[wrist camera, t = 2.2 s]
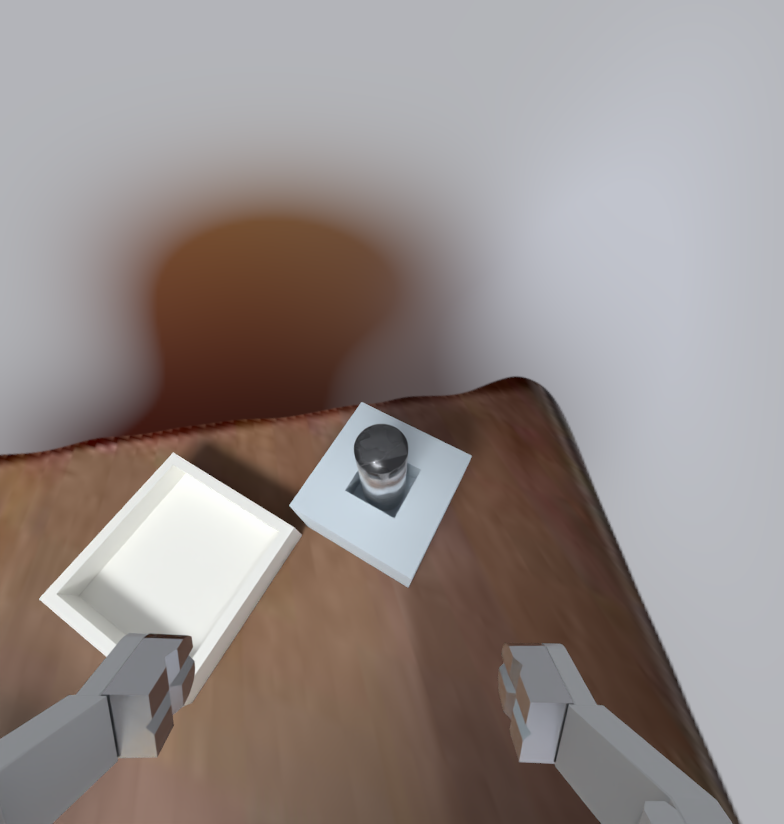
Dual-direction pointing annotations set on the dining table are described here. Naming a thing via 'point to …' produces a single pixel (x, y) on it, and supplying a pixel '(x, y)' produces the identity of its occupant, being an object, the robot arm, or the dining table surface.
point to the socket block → (368, 526)
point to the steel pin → (382, 465)
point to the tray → (175, 566)
